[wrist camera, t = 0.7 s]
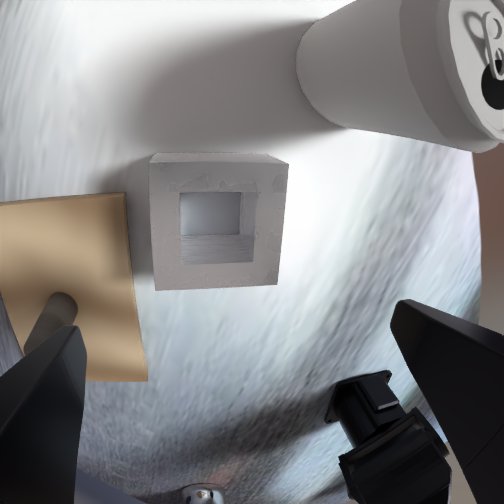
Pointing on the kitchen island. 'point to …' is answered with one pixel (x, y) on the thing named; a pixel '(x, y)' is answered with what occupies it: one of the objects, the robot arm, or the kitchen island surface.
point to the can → (410, 70)
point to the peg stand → (73, 279)
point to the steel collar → (217, 246)
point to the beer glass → (203, 494)
